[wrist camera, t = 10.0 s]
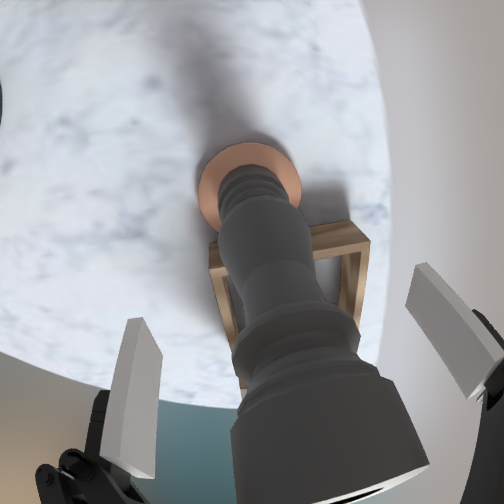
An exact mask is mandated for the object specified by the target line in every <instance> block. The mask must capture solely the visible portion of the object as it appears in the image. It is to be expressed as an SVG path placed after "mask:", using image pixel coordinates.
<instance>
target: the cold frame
mask: <svg viewBox="0 0 504 504" xmlns="http://www.w3.org/2000/svg"><path fill="white" fill-rule="evenodd" d="M309 228H310V233H311V241H312V250H313V258H314V260H318V259H323V258H328V257H334V256H339V255H342V258H341V275H340V289H339V302H338V307H340V308H341V309H343V310H344V311H346V312H347V313H349V314H350V315H351V316H352V317H353V319H354V321H355V323H356V325H357V328H359V323H360V317H361V311H362V305H363V299H364V292H365V285H366V278H367V270H368V262H369V253H370V243H371V241H370V240H369V239H368V238H367V237H366V235H365V234H364V233H363V232H362V231H361V230H360V229H359V228H358V227H357V226H356V225H355V224H354V223H353V222H352V221H351V220H348V221H342V222H336V223H329V224H323V225H317V226H310V227H309ZM209 272H210V276H211V280H212V284H213V288H214V291H215V295H216V299H217V303H218V306H219V310H220V313H221V317H222V321H223V324H224V328H225V331H226V335H227V338H228V342H229V345H230V349H231V352H232V351H233V348H234V345H235V343H236V340H237V337H238V335H239V331H238V326H237V322H236V318H235V314H234V309H233V305H232V301H231V296H230V292H229V288H228V283H227V279H226V276H228V275H229V274H228V272H227V270H226V268H225V266H224V264H223V262H222V260H221V257H220V252H219V247H218V242H215V243H210V244H209ZM239 385H240V389H247V388H248V385H247V384H246V383H245V382H243V381H242V380H241V379H240V378H239Z"/></svg>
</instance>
